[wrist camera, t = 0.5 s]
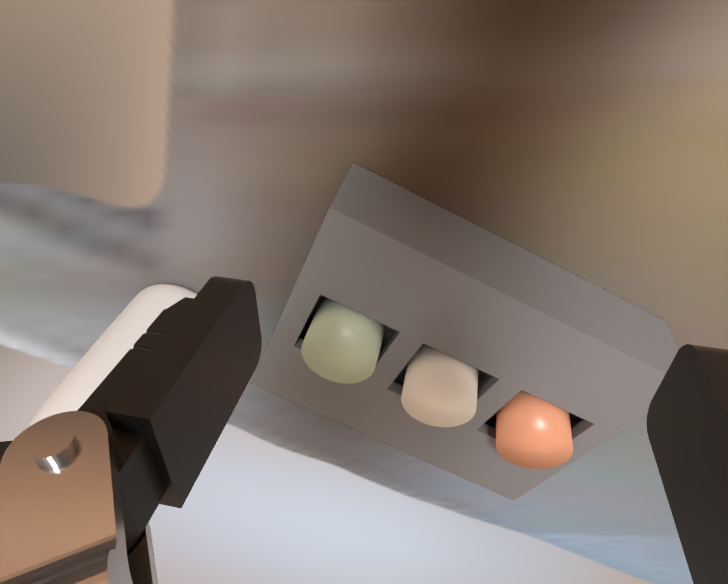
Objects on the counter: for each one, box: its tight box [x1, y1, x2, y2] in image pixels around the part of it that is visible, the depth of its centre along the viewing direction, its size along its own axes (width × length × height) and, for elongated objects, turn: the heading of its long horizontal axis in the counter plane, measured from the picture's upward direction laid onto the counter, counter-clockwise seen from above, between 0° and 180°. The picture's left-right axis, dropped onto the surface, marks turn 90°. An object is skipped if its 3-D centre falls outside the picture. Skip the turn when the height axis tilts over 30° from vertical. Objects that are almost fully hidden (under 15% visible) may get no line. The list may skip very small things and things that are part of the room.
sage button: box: [301, 296, 386, 384], centre depth 30 cm, size 4×4×4 cm
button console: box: [251, 163, 678, 500], centre depth 32 cm, size 16×21×5 cm
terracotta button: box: [496, 390, 573, 469], centre depth 32 cm, size 4×4×4 cm
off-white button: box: [401, 343, 479, 427], centre depth 31 cm, size 4×4×4 cm
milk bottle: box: [29, 284, 198, 427], centre depth 32 cm, size 8×8×20 cm
